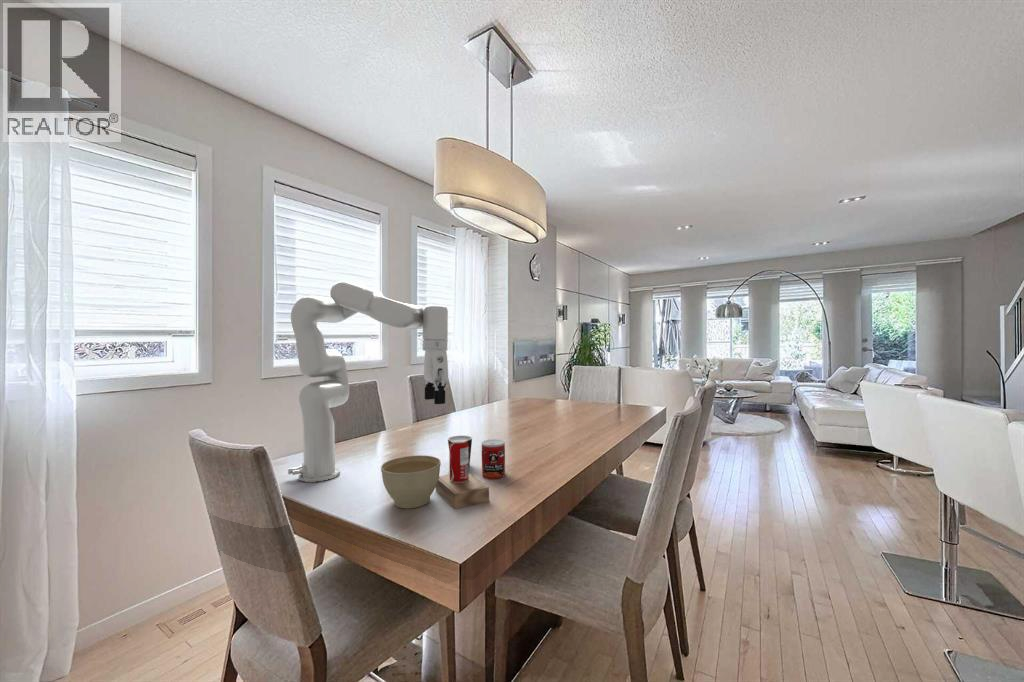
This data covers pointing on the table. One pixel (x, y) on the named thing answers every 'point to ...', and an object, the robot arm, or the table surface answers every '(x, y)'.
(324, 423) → the robot arm
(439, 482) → the wooden tray
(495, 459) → the canned food
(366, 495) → the table surface
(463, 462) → the soda can
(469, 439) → the coffee mug
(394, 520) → the table surface
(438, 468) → the planter bowl
